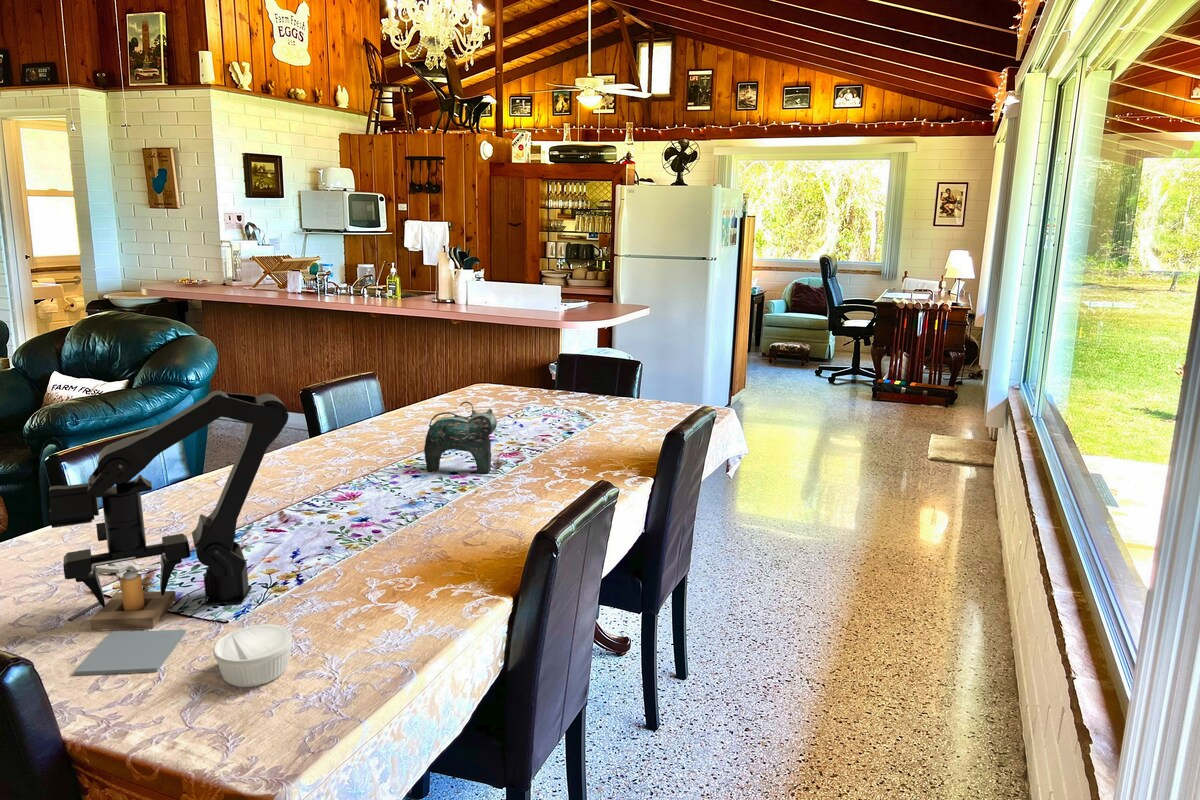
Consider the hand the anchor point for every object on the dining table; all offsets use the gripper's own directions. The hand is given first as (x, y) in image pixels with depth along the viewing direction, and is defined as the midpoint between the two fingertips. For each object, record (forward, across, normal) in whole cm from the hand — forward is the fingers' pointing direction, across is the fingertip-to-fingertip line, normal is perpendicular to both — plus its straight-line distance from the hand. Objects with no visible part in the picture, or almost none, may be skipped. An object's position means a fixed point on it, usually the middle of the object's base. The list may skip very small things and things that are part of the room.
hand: (133, 600), depth 142 cm
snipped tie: (+3, +7, -6) cm, 10 cm away
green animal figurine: (+3, -81, -49) cm, 95 cm away
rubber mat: (+3, +1, +14) cm, 14 cm away
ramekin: (+3, -15, +29) cm, 33 cm away
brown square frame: (+3, 0, 0) cm, 3 cm away
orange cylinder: (+3, 0, 0) cm, 3 cm away
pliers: (+3, -1, -18) cm, 19 cm away
